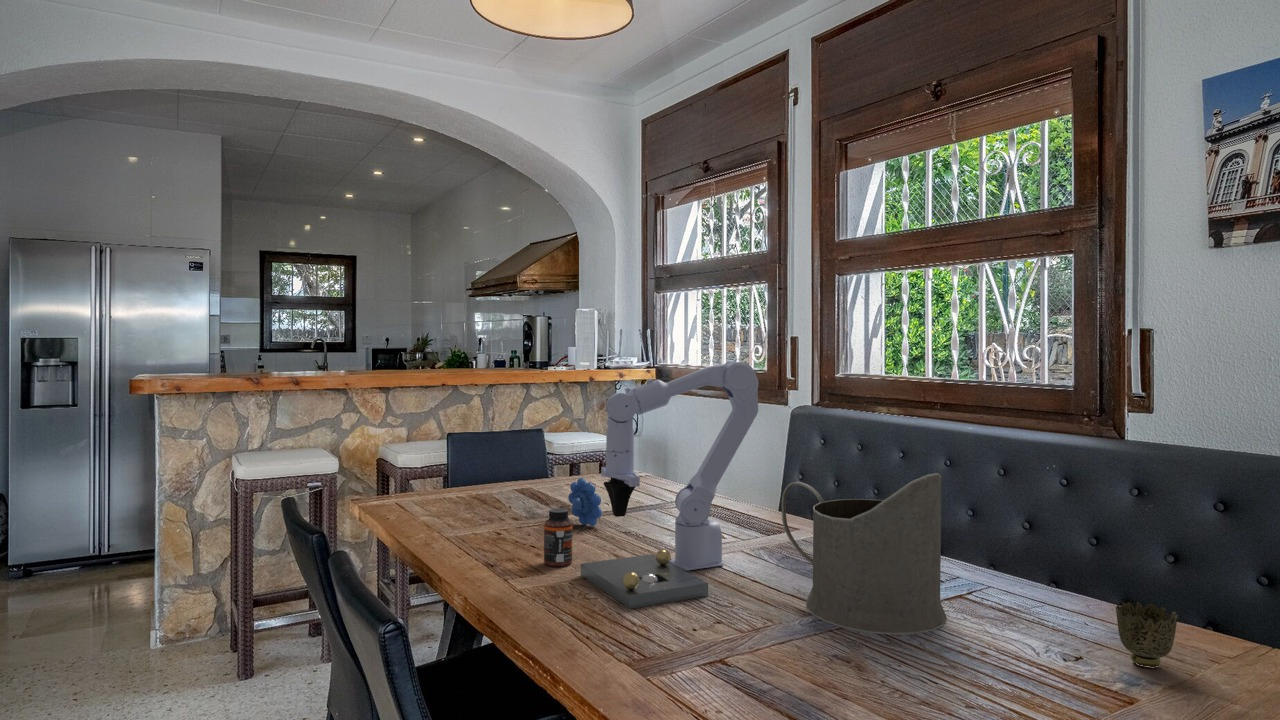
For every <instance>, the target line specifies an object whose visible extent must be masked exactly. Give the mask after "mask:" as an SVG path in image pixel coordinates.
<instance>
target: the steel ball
mask: <svg viewBox="0 0 1280 720" xmlns="http://www.w3.org/2000/svg"><path fill="white" fill-rule="evenodd" d="M641 580H642V581H644V582H645V583H647V584H651V583H658V578H657V577H656V576H655V575H654V574H652V573H647V574H645V575H643V576H642V578H641Z"/></svg>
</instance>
